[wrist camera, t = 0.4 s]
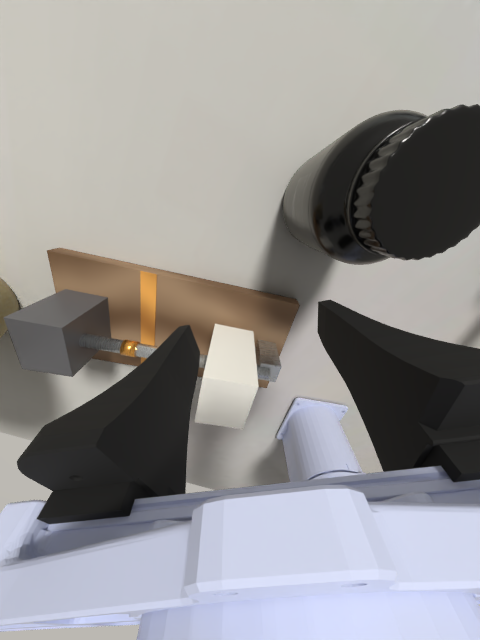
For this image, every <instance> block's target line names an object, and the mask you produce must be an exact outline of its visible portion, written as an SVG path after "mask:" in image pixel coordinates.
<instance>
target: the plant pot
mask: <svg viewBox="0 0 480 640" xmlns="http://www.w3.org/2000/svg"><path fill="white" fill-rule="evenodd" d="M18 310H19V305H18V301H17V299H16V296H15V294H14V293H13V291H12V290H11V289H10V287H9V286H8V285H7V284H6V283H5V282H4V281H3V280H2V279H1V278H0V338H1V337H2V336H3V335H4V333H5V332H6V331H7V330H8V329H7V326H6V323H5V320H4V318H3V317H5V316H8V315H10V314H12V313H14V312H16V311H18Z"/></svg>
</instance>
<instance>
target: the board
mask: <svg viewBox="0 0 480 640" xmlns="http://www.w3.org/2000/svg"><path fill="white" fill-rule="evenodd" d="M47 253H48V258H49V262H50V267H51V272H52V276H53V281H54V286H55V290H56V293H58V292H60V291H62V290H64V289H68V290H73V291H78V292H83V293H88V294H93V295H98V296H103V297H108V305H109V317H110V328H111V338H114V339H120V340H131V341H137V342H140V343H142V344H147V345H153V346H158V347H159V346H160V345H161V344H162V343H163V342H164V341H165V340H166V339H167V338H168V337H169V336H170V335H171V334H172V333H173V332H174V331H175V330H176V329H177V328H178V327H179V326H185V325H190V327H191V330H192V332H193V335H194V337H195V340H196V342H197V345H198V347H199V350H200V354H202V355H208V352H209V348H210V343H211V339H212V335H213V330H214V326H215V324H219V325H224V326H229V327H234V328H239V329H244V330H249V331H253V333H254V343H255V348H256V345H257V342H258V340H263V341H269V342H274V343H276V347H277V351H278V355H279V356H280V353H281V351H282V348H283V346H284V343H285V341H286V338H287V336H288V333H289V331H290V328H291V326H292V323H293V321H294V318H295V316H296V313H297V311H298V308H299V303H298V301H297V300H296V299H293V298H288V297H284V296H279V295H275V294H270V293H265V292H261V291H256V290H252V289H247V288H242V287H238V286H233V285H229V284H224V283H219V282H215V281H210V280H206V279H201V278H197V277H192V276H187V275H183V274H178V273H174V272H169V271H164V270H160V269H155V268H151V267H146V266H141V265H137V264H132V263H128V262H123V261H118V260H114V259H109V258H105V257H100V256H95V255H91V254H86V253H82V252H77V251H73V250H68V249H63V248H56V249H52V250H47ZM92 358H93V359H99V360H104V361H110V362H116V363H122V364H128V365H134V366H139V365H140V364H141V363H143V362H144V361H145V360H146V359H147V358H143V357H138V356H137V357H131V356H125V355H121V354H120V353H115V352H109V351H103V350H99V351H98V352H97V353H96V354H95V355H94V356H93V357H92ZM204 369H205V368H200V367H199V370H198V375H197V376H198V377H203V374H204ZM268 383H269V381H267V380H261V379H258V385H259V387H263V388H267V386H268Z"/></svg>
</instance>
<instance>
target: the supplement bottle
mask: <svg viewBox="0 0 480 640" xmlns="http://www.w3.org/2000/svg"><path fill="white" fill-rule="evenodd" d="M283 216H284V220H285V223H286V226H287V228H288V230H289V231H290V233H291V234H292V235H293V236H294V237H295V238H296V239H297V240H299V241H300V242H302V243H304V244H306V245H308V246H310V247H312V248H314V249H316V250H318V251H320V252H322V253H324V254H326V255H328V256H330V257H332V258H334V259H336V260H338V261H341V262H344V263H348V264H354V265H364V264H372V263H376V262H380V261H383V260H386V259H388V258H390V257H391V258H398V259H402V260H410V259H414V260H419V259H422V258H424V257H432V256H434V255H435V254H437V253H443V252H444V251H446V250H447V249H448V248H450V247H454V246H456V245H457V244H458V243H459V242H460V241H461V240H463V239H465V238H466V237H468V236H469V234H470V233H471V232H472V231H473V230H474V229H476V228H477V227H478V226H479V225H480V106H479V105H478V104H476V105H472V106H469V107H468V106H465V105H458V106H456V107H453V108H451V109H443V110H440V111H438V112H436V113H434V114H432V115H430V116H426V115H424V114H421V113H419V112H415V111H410V110H395V111H389V112H384V113H381V114H378V115H375V116H373V117H371V118H369V119H367V120H365V121H363V122H362V123H360V124H358V125H357V126H355V127H354V128H352V129H351V130H350V131H348V132H347V133H345V134H344V135H343V136H341V137H340V138H338V139H337V140H336V141H334V142H333V143H331V144H330V145H329V146H327V147H326V148H324V149H323V150H322V151H320V152H319V153H318V154H316V155H315V156H313V157H312V158H311V159H309V160H308V161H307V162H305V163H304V164H303V165H302V166H301V167H300V168H299V169H298V170H297V171H296V173H295V174H294V175H293V177H292V178H291V180H290V182H289V184H288V186H287V189H286V191H285V195H284V200H283Z"/></svg>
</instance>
